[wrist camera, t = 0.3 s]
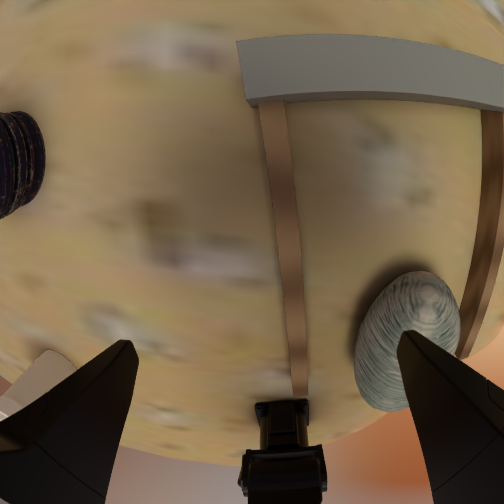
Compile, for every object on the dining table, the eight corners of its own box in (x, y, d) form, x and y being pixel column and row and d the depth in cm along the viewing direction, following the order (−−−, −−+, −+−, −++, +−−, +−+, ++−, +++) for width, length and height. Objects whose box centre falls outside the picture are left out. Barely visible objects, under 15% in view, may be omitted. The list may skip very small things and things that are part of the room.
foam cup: (69, 344, 29) (21, 422, 17) (98, 391, 33) (67, 463, 21) (25, 338, 30) (-19, 400, 18) (54, 382, 34) (21, 442, 22)
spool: (422, 386, 26) (423, 444, 17) (348, 368, 30) (326, 421, 21) (462, 272, 23) (491, 299, 14) (378, 253, 27) (371, 271, 18)
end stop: (494, 112, 16) (548, 121, 10) (251, 107, 18) (245, 99, 12) (491, 81, 15) (544, 82, 8) (244, 67, 17) (235, 41, 10)
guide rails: (457, 340, 27) (468, 357, 24) (291, 375, 29) (293, 397, 26) (491, 111, 16) (512, 114, 13) (258, 106, 18) (257, 103, 15)
